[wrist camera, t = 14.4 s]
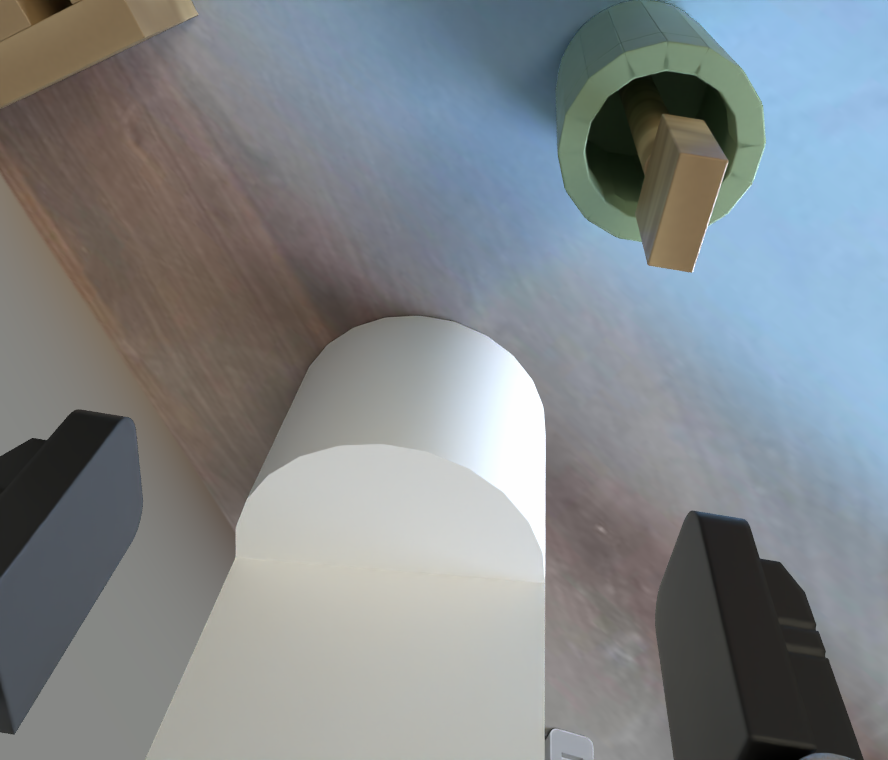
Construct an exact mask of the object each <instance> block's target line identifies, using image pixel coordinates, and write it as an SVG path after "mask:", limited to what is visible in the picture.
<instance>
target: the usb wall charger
mask: <svg viewBox="0 0 888 760" xmlns="http://www.w3.org/2000/svg"><path fill="white" fill-rule="evenodd" d="M545 760H594V752H593V743H592V742H591V740H590V739H589V738H587V737H585V736H581V735H578V734H574V733H571V732H567V731H564V730H560V729H553V730H552V731H551V732H550V734H549V735H548V737H547V739H546V740H545Z"/></svg>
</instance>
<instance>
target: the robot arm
mask: <svg viewBox="0 0 888 760" xmlns="http://www.w3.org/2000/svg"><path fill="white" fill-rule="evenodd" d="M142 507H143V495H142V486H141V475H140V465H139V455H138V445H137V436H136V428H135V424H134V422H133V420H132V419H131V418H129V417H123V416H117V415H111V414H105V413H98V412H92V411H86V410H75V411H73V412H72V413H71V414H70V415H69V416H68V417H67V418H66V419H65V420H64V422H63V423H62V424H61V425H60V426H59V427H58V428H57V429H56V431H55V432H54V433H53V434H52V435H51V436H50V438H49V439H48V440H42V439H36V438H32V439H30V440H28V441H26V442H25V443H23V444H21V445H19V446H18V447H16V448H14V449H12V450H11V451H9V452H7V453H5V454H4V455H2V456H0V732H2V733H8V734H15V733H16V731H17V730H18V728H19V726H20V725H21V723H22V721H23V720H24V718H25V716H26V715H27V713H28V712H29V710H30V708H31V707H32V705H33V703H34V702H35V700H36V698H37V697H38V695H39V694H40V692H41V690H42V689H43V687H44V685H45V684H46V682H47V680H48V679H49V677H50V675H51V674H52V672H53V670H54V669H55V667H56V666H57V664H58V662H59V661H60V659H61V657H62V656H63V654H64V653H65V651H66V649H67V648H68V646H69V644H70V643H71V641H72V639H73V638H74V636H75V635H76V633H77V631H78V629H79V628H80V626H81V625H82V623H83V621H84V620H85V618H86V616H87V615H88V613H89V612H90V610H91V608H92V607H93V605H94V603H95V602H96V600H97V598H98V597H99V595H100V593H101V592H102V590H103V589H104V587H105V585H106V584H107V582H108V580H109V578H110V577H111V576H112V573H113V572H114V571H115V569H116V567H117V566H118V564H119V562H120V561H121V559H122V557H123V556H124V554H125V553H126V551H127V549H128V547H129V546H130V544H131V542H132V541H133V539H134V537H135V535H136V532H137V530H138V527H139V523H140V519H141V514H142ZM655 628H656V636H657V643H658V650H659V657H660V664H661V671H662V678H663V686H664V693H665V700H666V707H667V714H668V721H669V728H670V735H671V742H672V750H673V757H674V760H864V759H863V756H862V754H861V751H860V748H859V745H858V742H857V739H856V737H855V734H854V731H853V728H852V725H851V722H850V719H849V717H848V714H847V711H846V708H845V705H844V702H843V700H842V697H841V694H840V691H839V688H838V685H837V682H836V680H835V677H834V674H833V671H832V668H831V665H830V663H829V660H828V659H827V658H825V652H826V651H825V648H824V646H823V643H822V640H821V637H820V634H819V631H816V623H815V620H814V617H813V614H812V611H811V609H810V606H809V603H808V600H807V597H806V594H805V592H804V591H803V590H802V588H801V587H800V586H799V585H798V584H797V582H796V581H795V580H794V579H793V577H792V576H791V575H790V574H789V572H788V571H787V570H786V569H785V568H784V566H783V565H782V564H781V563H780V562H777V561H771V560H765V559H760V558H759V555H758V552H757V548H756V545H755V542H754V538H753V535H752V532H751V529H750V526H749V524H748V522H747V521H746V520H745V519H741V518H735V517H729V516H722V515H716V514H710V513H704V512H698V511H690V512H689V513H688V515H687V516H686V518H685V520H684V522H683V525H682V528H681V530H680V533H679V536H678V538H677V541H676V544H675V547H674V549H673V552H672V555H671V557H670V560H669V563H668V565H667V568H666V571H665V573H664V576H663V579H662V581H661V584H660V587H659V591H658V596H657V602H656V612H655Z"/></svg>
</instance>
